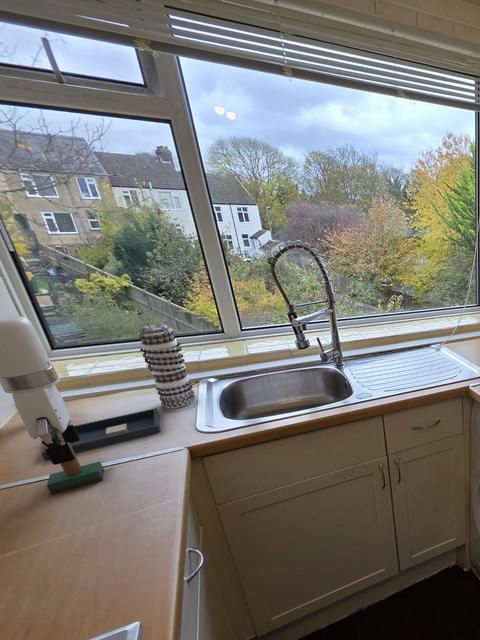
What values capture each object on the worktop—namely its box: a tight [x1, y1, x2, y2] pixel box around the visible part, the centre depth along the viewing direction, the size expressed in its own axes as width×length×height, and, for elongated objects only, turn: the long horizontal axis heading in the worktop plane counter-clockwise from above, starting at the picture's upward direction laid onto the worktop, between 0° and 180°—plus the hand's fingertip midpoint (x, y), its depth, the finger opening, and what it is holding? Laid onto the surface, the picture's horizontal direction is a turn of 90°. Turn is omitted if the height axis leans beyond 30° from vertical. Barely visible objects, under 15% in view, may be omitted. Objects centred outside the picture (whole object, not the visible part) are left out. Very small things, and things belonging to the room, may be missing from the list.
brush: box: [46, 442, 105, 495], centre depth 88 cm, size 8×5×10 cm, turn 130°
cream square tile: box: [106, 424, 128, 437], centre depth 109 cm, size 4×4×1 cm
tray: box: [40, 407, 161, 461], centre depth 108 cm, size 22×14×3 cm, turn 130°
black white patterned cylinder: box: [136, 324, 197, 409], centre depth 121 cm, size 9×9×25 cm
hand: (67, 451), depth 88 cm, fingers open, 9 cm apart
